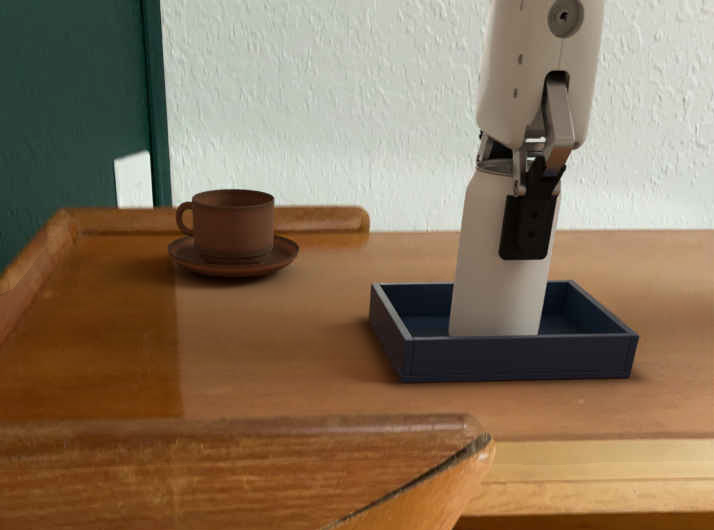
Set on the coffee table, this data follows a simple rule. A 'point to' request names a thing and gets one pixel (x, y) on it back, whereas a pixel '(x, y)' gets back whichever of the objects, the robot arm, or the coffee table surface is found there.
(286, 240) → the cup and saucer
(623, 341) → the tray
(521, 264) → the can
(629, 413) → the coffee table surface
